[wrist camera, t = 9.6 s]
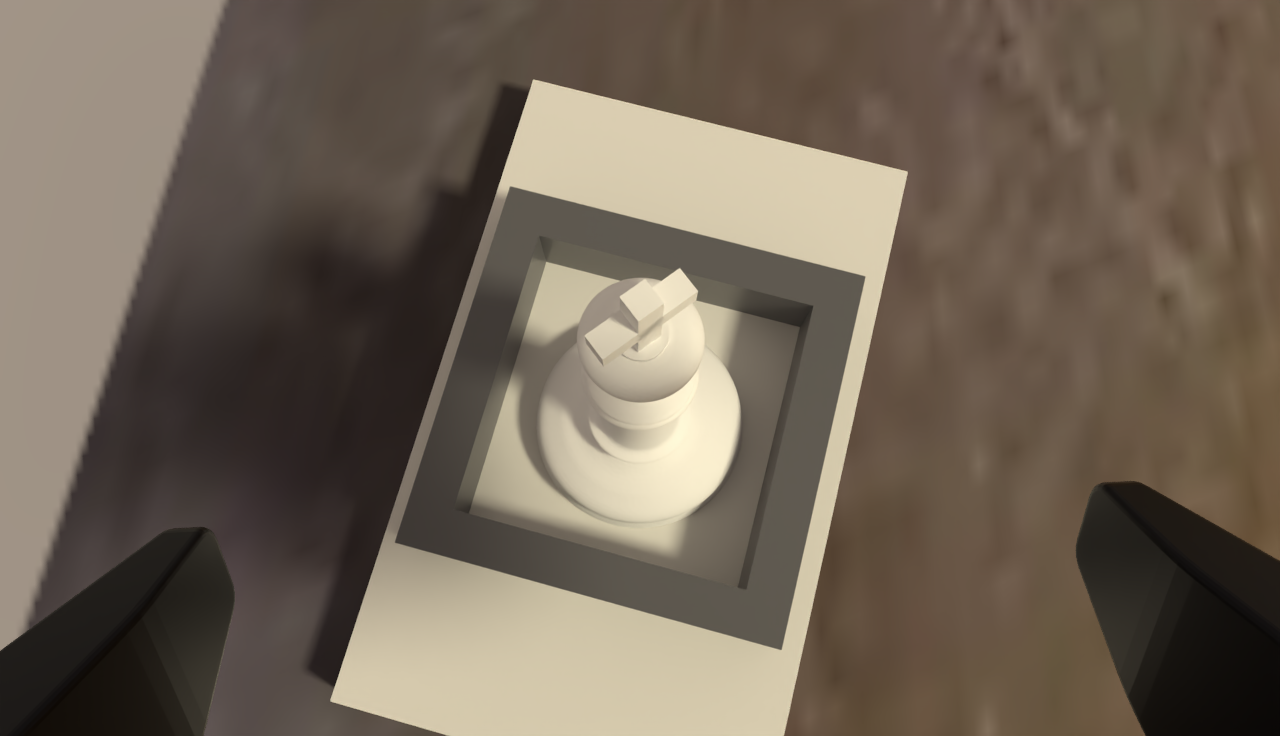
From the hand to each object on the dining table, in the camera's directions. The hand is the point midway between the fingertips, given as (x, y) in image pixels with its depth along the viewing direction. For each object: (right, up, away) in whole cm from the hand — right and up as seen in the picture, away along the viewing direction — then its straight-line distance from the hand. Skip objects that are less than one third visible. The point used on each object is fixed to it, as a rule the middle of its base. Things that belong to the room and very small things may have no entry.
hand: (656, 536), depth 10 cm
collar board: (0, 0, +14) cm, 14 cm away
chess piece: (0, 0, +13) cm, 13 cm away
